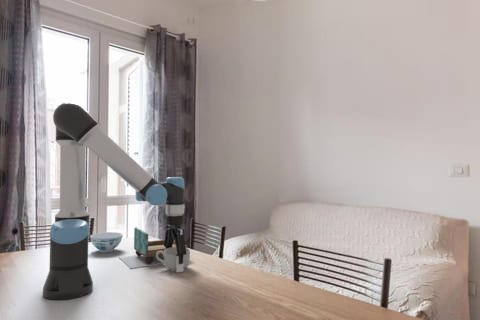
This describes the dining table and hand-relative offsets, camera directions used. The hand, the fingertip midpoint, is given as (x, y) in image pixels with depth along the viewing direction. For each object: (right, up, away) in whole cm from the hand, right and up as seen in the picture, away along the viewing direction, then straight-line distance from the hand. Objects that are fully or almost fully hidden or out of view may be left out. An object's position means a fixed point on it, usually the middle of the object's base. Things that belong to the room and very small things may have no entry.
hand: (174, 268), depth 145 cm
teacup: (-1, -1, +1) cm, 1 cm away
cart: (-10, -1, +17) cm, 19 cm away
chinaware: (-39, -1, +29) cm, 48 cm away
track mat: (-12, -1, +15) cm, 19 cm away
